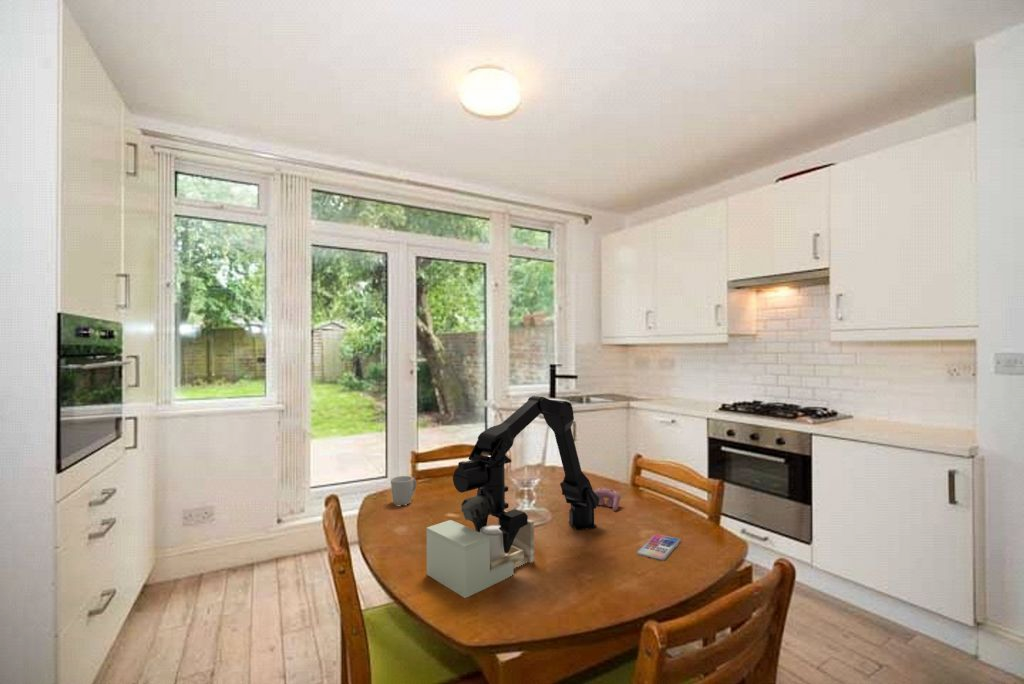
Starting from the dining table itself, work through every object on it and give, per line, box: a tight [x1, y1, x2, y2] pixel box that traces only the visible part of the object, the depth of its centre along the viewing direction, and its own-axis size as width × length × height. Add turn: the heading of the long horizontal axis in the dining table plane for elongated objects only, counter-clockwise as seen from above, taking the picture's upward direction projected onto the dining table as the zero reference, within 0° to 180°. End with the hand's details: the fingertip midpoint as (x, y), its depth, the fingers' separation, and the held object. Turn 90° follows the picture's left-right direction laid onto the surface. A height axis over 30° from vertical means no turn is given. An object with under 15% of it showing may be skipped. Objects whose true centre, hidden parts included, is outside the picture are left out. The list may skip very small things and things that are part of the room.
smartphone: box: [636, 533, 681, 562], centre depth 123 cm, size 7×1×15 cm
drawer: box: [490, 510, 535, 570], centre depth 115 cm, size 14×12×10 cm
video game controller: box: [593, 487, 621, 512], centre depth 155 cm, size 10×5×7 cm, turn 58°
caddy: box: [426, 519, 515, 599], centre depth 109 cm, size 14×15×11 cm
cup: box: [390, 475, 417, 506], centre depth 161 cm, size 8×10×8 cm
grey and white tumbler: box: [480, 524, 506, 562], centre depth 114 cm, size 7×7×7 cm
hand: (493, 546), depth 114 cm, fingers open, 9 cm apart
